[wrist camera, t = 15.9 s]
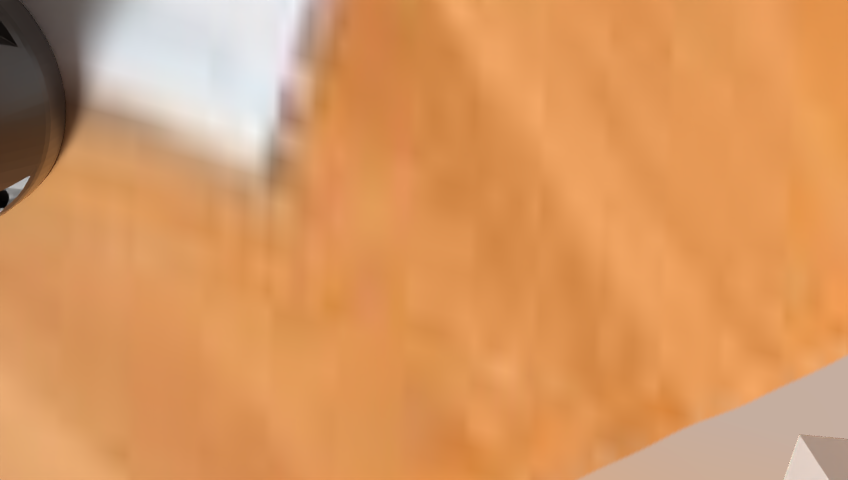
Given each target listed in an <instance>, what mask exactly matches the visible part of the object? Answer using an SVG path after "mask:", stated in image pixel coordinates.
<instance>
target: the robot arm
mask: <svg viewBox="0 0 848 480" xmlns="http://www.w3.org/2000/svg"><path fill="white" fill-rule="evenodd" d="M65 116H66V110H65V96H64V89H63V84H62V80H61V76H60V72H59V69H58V66H57V63H56V60H55V58H54V55H53V53H52V50H51V48H50V46H49V44H48V42H47V40H46V38H45V36H44V35H43V33H42V31H41V29H40V28H39V26H38V25H37V23H36V22H35V20H34V19H33V17H32V16H31V15H30V13H29V12H28V11H27V9H26V8H25V7H24V6H23V5H22V3H21V2H20V1H19V0H0V216H1V215H3V214H4V213H6V212H7V211H9V210H10V209H11V208H13V207H14V206H15V205H17V204H18V203H19V202H21V201H22V200H23V199H25V198H26V197H27V196H29V195H30V194H31V193H32V192H33V191H34V190H35V189H36V188H37V187H38V186H39V185H40V184H41V183H42V182H43V180H44V179H45V178H46V176H47V175H48V173H49V172H50V170H51V168H52V167H53V165H54V163H55V161H56V158H57V156H58V153H59V151H60V147H61V144H62V140H63V135H64V129H65ZM784 480H848V439H844V438H833V437H822V436H810V435H799V437H798V441H797V443H796V445H795V448H794V451H793V454H792V457H791V460H790V463H789V465H788V468H787V471H786V474H785V477H784Z"/></svg>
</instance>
